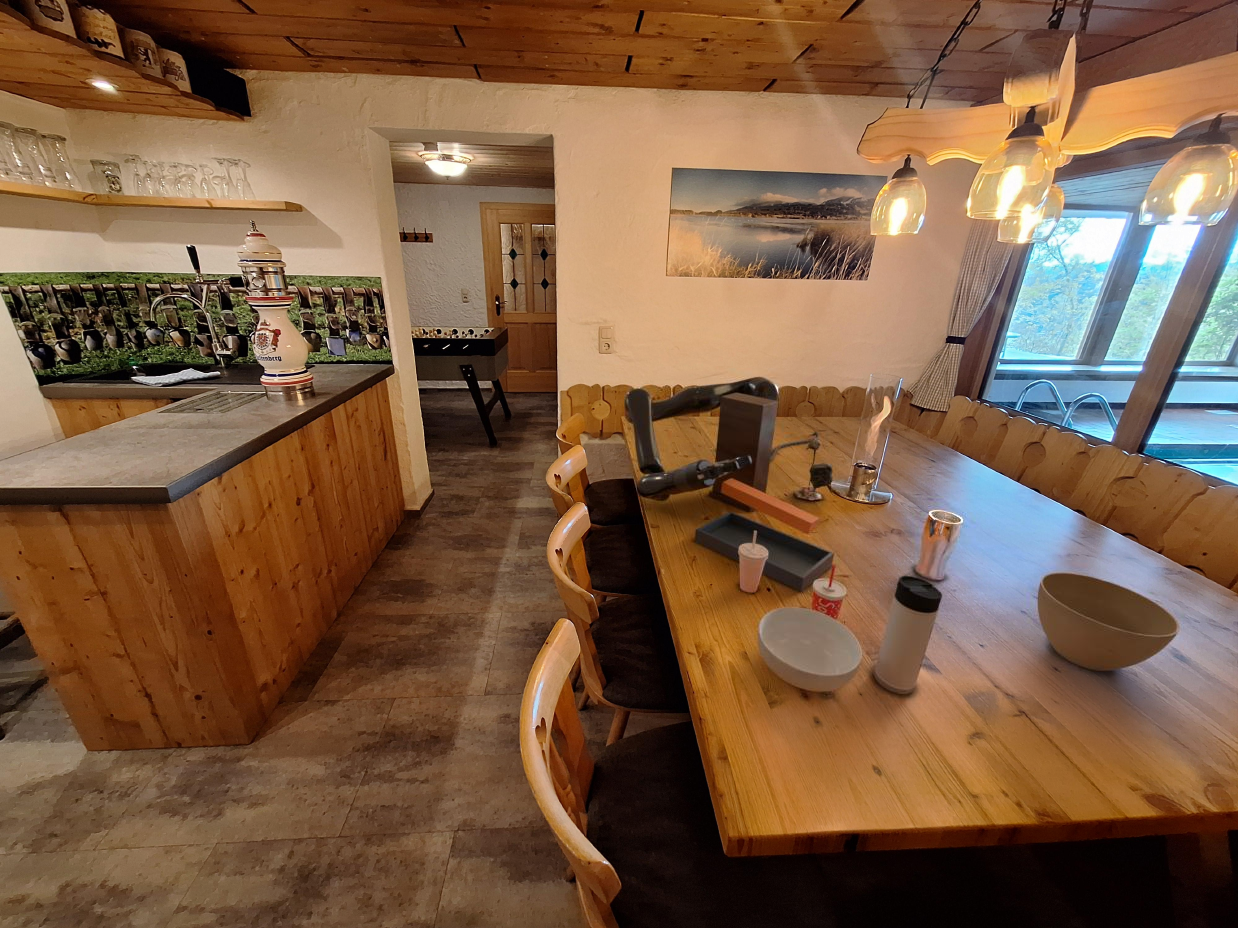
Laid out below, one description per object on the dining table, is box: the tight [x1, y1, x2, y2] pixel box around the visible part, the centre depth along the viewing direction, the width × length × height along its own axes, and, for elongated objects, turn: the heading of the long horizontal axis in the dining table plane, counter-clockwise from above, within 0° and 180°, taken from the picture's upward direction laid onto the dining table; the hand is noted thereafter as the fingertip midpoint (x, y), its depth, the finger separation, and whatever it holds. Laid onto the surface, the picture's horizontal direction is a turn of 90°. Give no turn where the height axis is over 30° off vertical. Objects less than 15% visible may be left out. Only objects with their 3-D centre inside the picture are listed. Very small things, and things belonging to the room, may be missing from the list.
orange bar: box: [721, 478, 820, 535], centre depth 118 cm, size 4×24×3 cm, turn 44°
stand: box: [708, 393, 779, 513], centre depth 147 cm, size 10×15×32 cm, turn 44°
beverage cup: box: [810, 564, 848, 621], centre depth 95 cm, size 6×6×14 cm
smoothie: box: [738, 531, 768, 593], centre depth 107 cm, size 6×6×14 cm
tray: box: [694, 510, 835, 593], centre depth 122 cm, size 16×30×4 cm, turn 44°
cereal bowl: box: [756, 606, 863, 693], centre depth 86 cm, size 17×17×7 cm
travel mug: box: [873, 575, 943, 695], centre depth 81 cm, size 6×7×20 cm
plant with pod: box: [794, 437, 834, 501], centre depth 151 cm, size 8×11×20 cm
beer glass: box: [914, 509, 964, 581], centre depth 113 cm, size 7×7×15 cm
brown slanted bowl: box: [1037, 572, 1181, 672], centre depth 89 cm, size 18×18×12 cm
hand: (743, 462), depth 120 cm, fingers open, 5 cm apart
